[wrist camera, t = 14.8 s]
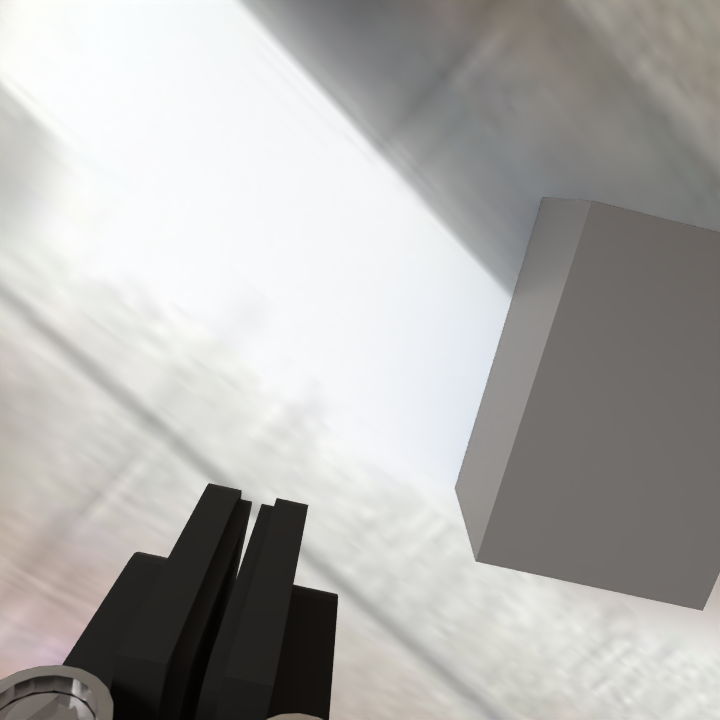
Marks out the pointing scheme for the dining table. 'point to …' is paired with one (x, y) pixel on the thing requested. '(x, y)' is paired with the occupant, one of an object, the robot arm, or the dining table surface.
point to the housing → (604, 409)
